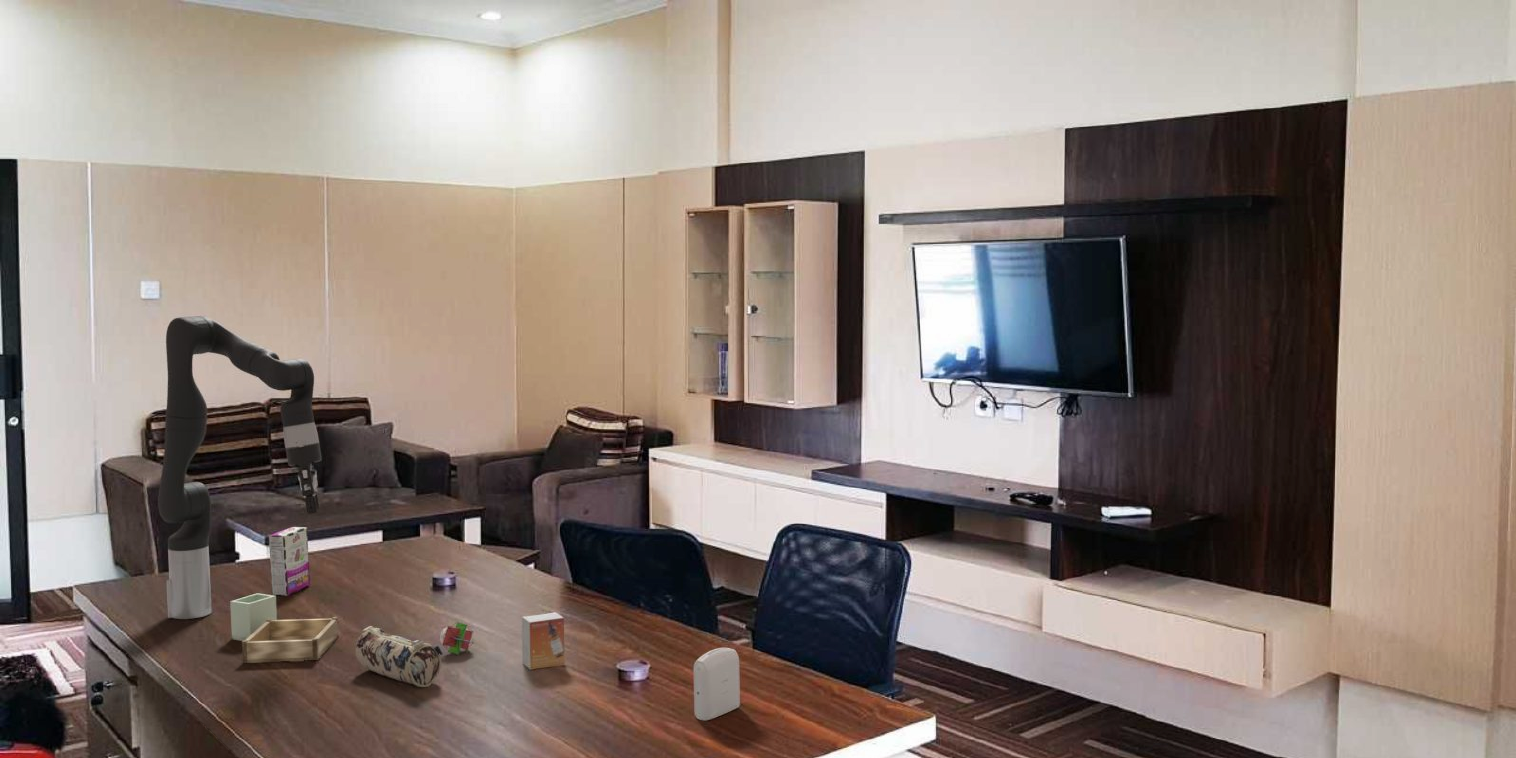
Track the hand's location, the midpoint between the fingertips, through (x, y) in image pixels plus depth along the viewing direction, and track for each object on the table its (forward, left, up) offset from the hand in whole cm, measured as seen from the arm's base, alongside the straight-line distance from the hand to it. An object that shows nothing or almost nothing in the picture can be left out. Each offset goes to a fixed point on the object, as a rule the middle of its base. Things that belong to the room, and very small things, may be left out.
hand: (313, 511), depth 292 cm
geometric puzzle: (+36, -19, -29) cm, 50 cm away
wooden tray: (-2, -13, -29) cm, 32 cm away
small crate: (-14, -1, -29) cm, 32 cm away
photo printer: (+92, -64, -29) cm, 116 cm away
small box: (+56, -30, -29) cm, 70 cm away
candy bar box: (-18, +42, -29) cm, 54 cm away
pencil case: (+26, -35, -30) cm, 53 cm away
